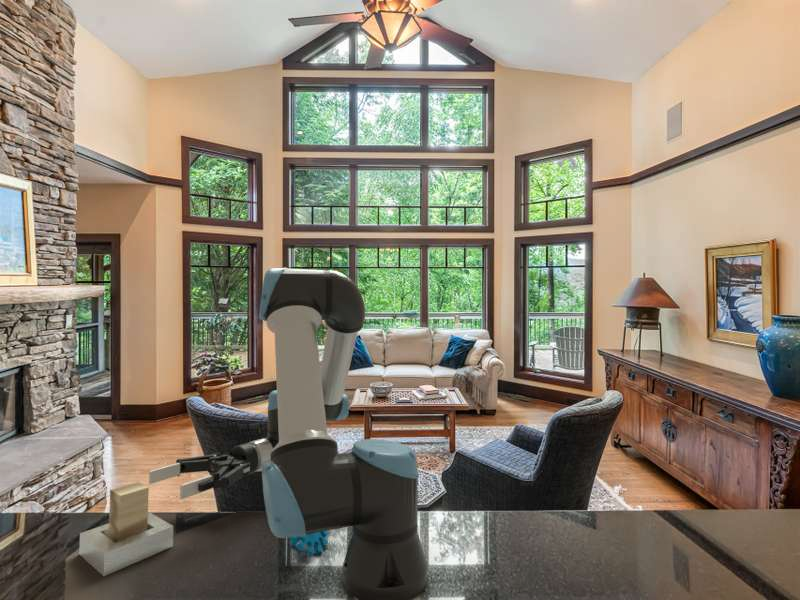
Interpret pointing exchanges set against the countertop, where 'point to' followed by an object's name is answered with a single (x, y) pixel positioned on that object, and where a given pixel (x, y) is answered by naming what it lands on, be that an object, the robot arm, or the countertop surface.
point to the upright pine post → (128, 511)
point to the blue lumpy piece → (311, 542)
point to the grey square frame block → (124, 545)
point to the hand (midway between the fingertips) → (164, 484)
